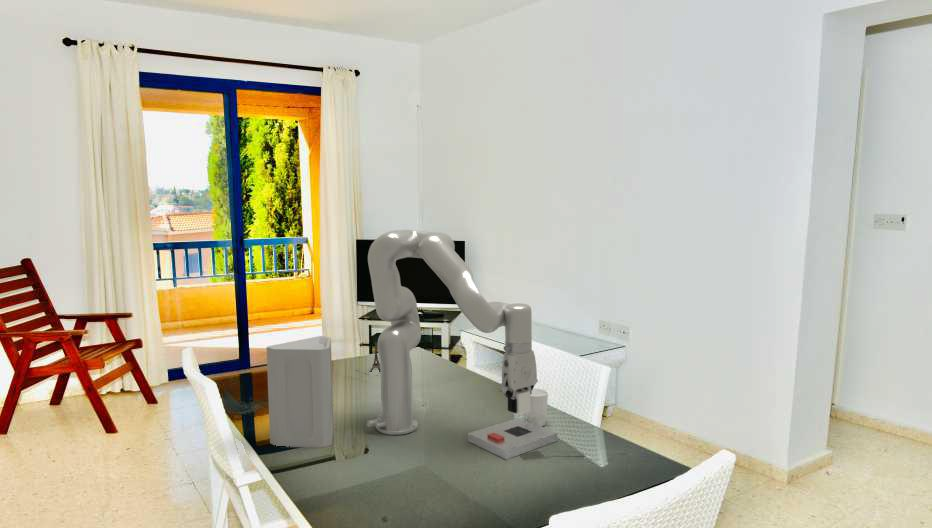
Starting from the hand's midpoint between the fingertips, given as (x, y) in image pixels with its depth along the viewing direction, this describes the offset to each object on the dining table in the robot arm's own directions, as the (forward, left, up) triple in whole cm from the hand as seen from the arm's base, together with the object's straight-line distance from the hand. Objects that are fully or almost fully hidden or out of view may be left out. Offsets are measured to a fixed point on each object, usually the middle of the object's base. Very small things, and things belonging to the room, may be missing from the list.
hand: (518, 408), depth 172 cm
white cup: (+13, +6, -9) cm, 17 cm away
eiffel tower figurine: (+4, +89, -10) cm, 90 cm away
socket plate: (-2, 0, -9) cm, 9 cm away
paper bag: (-46, +38, -9) cm, 61 cm away
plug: (0, 0, -1) cm, 1 cm away
